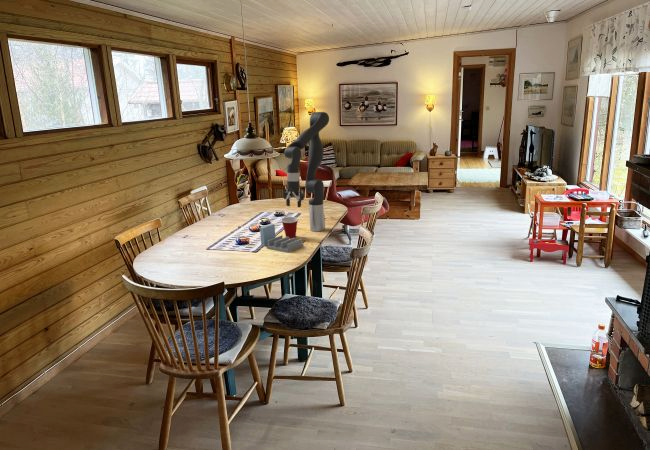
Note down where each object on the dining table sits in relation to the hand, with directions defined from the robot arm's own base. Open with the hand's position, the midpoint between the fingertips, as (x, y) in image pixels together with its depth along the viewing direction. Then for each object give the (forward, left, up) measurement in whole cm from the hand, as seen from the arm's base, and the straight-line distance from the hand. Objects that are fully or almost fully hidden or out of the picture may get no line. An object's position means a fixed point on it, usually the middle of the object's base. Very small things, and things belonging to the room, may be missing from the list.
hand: (293, 206), depth 289 cm
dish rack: (+19, +8, -20) cm, 28 cm away
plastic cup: (+2, -2, -20) cm, 20 cm away
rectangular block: (+18, -6, -20) cm, 27 cm away
